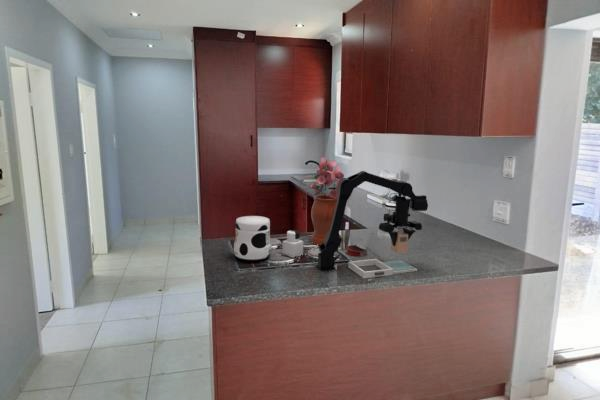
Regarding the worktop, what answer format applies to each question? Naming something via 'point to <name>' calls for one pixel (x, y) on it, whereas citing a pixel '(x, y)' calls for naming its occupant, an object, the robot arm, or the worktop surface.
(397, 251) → the block
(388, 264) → the lid
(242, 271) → the worktop surface
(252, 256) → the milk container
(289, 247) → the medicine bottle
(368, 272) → the pale grey square frame
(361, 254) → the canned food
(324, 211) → the potted flower
